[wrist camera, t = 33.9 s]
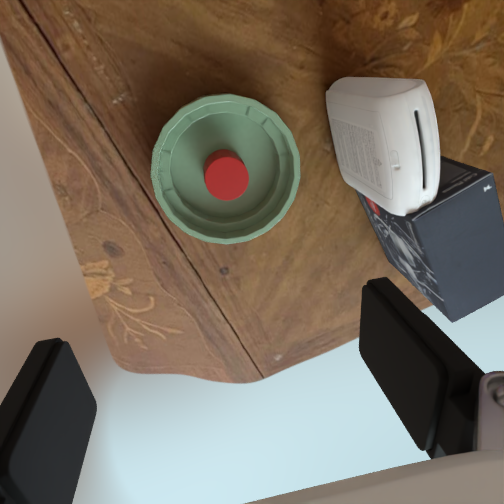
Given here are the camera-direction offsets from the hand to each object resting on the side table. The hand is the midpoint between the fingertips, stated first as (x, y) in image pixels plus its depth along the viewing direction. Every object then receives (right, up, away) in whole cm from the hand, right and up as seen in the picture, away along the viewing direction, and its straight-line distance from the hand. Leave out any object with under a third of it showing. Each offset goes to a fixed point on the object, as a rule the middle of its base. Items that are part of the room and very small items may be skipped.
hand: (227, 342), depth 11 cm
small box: (+17, +8, +28) cm, 34 cm away
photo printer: (+11, +15, +24) cm, 30 cm away
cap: (-2, +11, +23) cm, 25 cm away
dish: (-2, +11, +23) cm, 26 cm away
